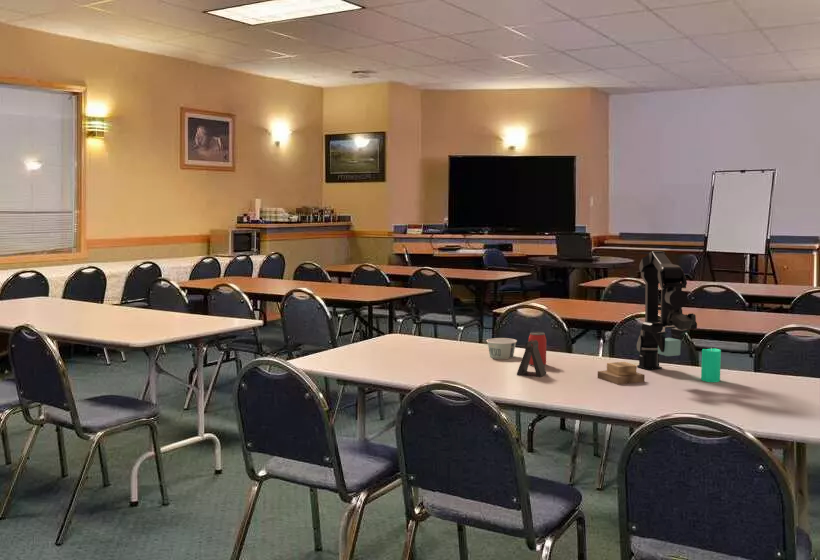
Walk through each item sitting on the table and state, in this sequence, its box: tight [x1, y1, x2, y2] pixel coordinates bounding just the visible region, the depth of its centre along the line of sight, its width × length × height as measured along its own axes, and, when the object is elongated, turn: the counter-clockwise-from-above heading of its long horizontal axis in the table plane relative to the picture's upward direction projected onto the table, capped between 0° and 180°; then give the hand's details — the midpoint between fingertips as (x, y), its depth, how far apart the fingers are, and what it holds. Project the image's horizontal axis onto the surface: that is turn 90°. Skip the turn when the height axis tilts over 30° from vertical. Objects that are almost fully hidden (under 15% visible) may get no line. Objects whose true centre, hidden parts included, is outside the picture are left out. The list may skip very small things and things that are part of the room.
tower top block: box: [606, 361, 638, 376], centre depth 267 cm, size 7×7×3 cm
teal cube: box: [658, 337, 682, 357], centre depth 260 cm, size 5×5×5 cm
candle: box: [700, 344, 722, 383], centre depth 265 cm, size 6×6×12 cm
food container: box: [485, 337, 518, 360], centre depth 311 cm, size 12×12×6 cm
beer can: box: [528, 331, 547, 367], centre depth 294 cm, size 7×7×12 cm
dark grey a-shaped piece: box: [516, 340, 547, 378], centre depth 277 cm, size 9×6×12 cm, turn 63°
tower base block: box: [597, 369, 646, 386], centre depth 268 cm, size 11×11×3 cm
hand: (668, 351), depth 260 cm, fingers closed on teal cube, 5 cm apart
